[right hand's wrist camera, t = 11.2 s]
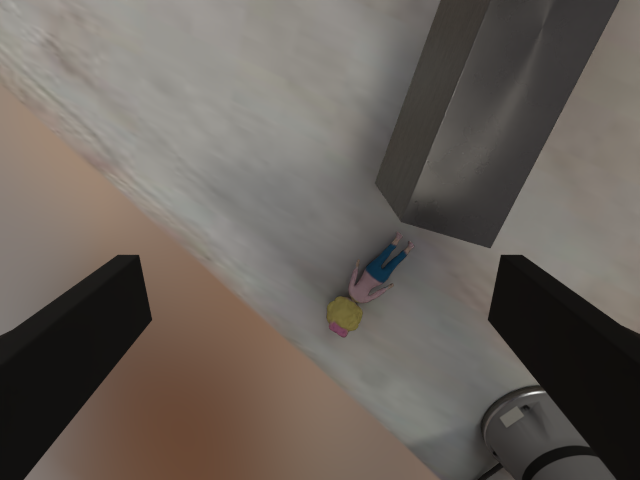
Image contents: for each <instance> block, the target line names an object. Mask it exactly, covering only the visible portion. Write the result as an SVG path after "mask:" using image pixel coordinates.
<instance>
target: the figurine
mask: <svg viewBox="0 0 640 480" xmlns="http://www.w3.org/2000/svg"><path fill="white" fill-rule="evenodd" d="M402 237H403V236H402V235H401V234H400V233H399V232H397V233H396V238H395V240H394V241H393V242H392V243H391V244H390V245H389V246H388V247H387V248H386V249H385V250H384V251H383V252H382V253H381V254H380V255H379V256H378V257H377V258H376V259H375V260H374V261H372V262H371V263H370V264H369V265H368V266H367V267H366V269H365V270H364V273H363V275H362V277H361V278H360V280H359V281H358V282H357V284H356V285H355V281H356V278H357V274H358V267H359V261H360V260H359V259H358V261H357V263H356V268H355V269H354V271H353V274H352V277H351V280H350V283H349V287H348V291H349V295H350V297H351V298H352V299H351V298H350V297H342V296H340V297H337V298H335V301H332V302H330V303H329V305H328V306H327V321H328V322H329V328H330V330H332V331H334V332H335V333H337V334H338V335H340V336H341V337H346V336H347V334H348V332H349V331H353V330H356V329H357V328H358V324H359V323H360V321H361V318H362V314H363V312H362V310H361V308H360V307H359V306H357V304H356V302H358V303H366V302H369V301H371V300H373V299H375V298H377V297H379V296H380V295H381V294H383V293H384V292H385V291H386V290H387V289H389V288H391V287H393V286H394V284H393V283H392V284H390V285H388V286H387V287H385V288H382V289H380V290H378V291H376V292H375V293H373V294H371V295H368V293H369V292H370V290H371V289H372V288H373V287H376V286H378V285H381V284H383V283H384V282H385V281H386V280H387V279H388V278H389V276H390V274H391V273H392V271H393V270H394V269H395V268H396V266H397V265H398V264H399V263H400V262H401V261H402V260H403V259H404V258H405V257H406V256H407V254H408V253H409V252H410V250H411V249H412V248H413V247H414V244H413V243H412V242H411V241H409V242H408V244H409V245H408V247H407V248H406V249H405V250H403V251H402V252H401V253H400V254H399V255H398V256H396V257H395V258H393V259H392V260H391V261H390V262H389V263H388V264H387V265H386V266H385V267H384V268H383V269H382V268H381V265H382V264H383V263H384V261H385V260H386V259H387V258H388V256H389V255H390V253H391V252H392V251H393V250H394V249H395V248H396V246H397V244H398V242H399V240H400V239H401V238H402ZM354 285H355V286H354Z"/></svg>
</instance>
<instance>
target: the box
mask: <svg viewBox="0 0 640 480" xmlns="http://www.w3.org/2000/svg"><path fill="white" fill-rule="evenodd" d="M618 2H619V0H441V1H440V4H439V6H438V9H437V12H436V15H435V17H434V20H433V23H432V26H431V29H430V31H429V34H428V37H427V40H426V42H425V45H424V48H423V51H422V54H421V56H420V59H419V62H418V65H417V67H416V70H415V73H414V76H413V78H412V81H411V84H410V87H409V90H408V92H407V95H406V98H405V101H404V103H403V106H402V109H401V112H400V115H399V117H398V120H397V123H396V126H395V128H394V131H393V134H392V137H391V139H390V142H389V145H388V148H387V151H386V153H385V156H384V159H383V162H382V164H381V167H380V170H379V173H378V176H377V178H376V181H375V184H376V186H377V187H378V189H379V190H380V192H381V193H382V195H383V196H384V197H385V199H386V200H387V202H388V203H389V205H390V206H391V208H392V209H393V211H394V212H395V214H396V215H397V217H398V218H399V219H400V221H401V222H403V223H407V224H410V225H413V226H417V227H420V228H423V229H427V230H430V231H434V232H437V233H440V234H444V235H447V236H450V237H454V238H457V239H460V240H464V241H467V242H471V243H474V244H477V245H481V246H484V247H487V248H491V246H492V244H493V242H494V240H495V239H496V237H497V235H498V233H499V231H500V229H501V227H502V225H503V223H504V221H505V219H506V217H507V215H508V214H509V212H510V210H511V208H512V206H513V204H514V202H515V200H516V198H517V196H518V194H519V192H520V190H521V188H522V187H523V185H524V183H525V181H526V179H527V177H528V175H529V173H530V171H531V169H532V167H533V165H534V163H535V162H536V160H537V158H538V156H539V154H540V152H541V150H542V148H543V146H544V144H545V142H546V140H547V138H548V136H549V135H550V133H551V131H552V129H553V127H554V125H555V123H556V121H557V119H558V117H559V115H560V113H561V111H562V110H563V108H564V106H565V104H566V102H567V100H568V98H569V96H570V94H571V92H572V90H573V88H574V86H575V84H576V83H577V81H578V79H579V77H580V75H581V73H582V71H583V69H584V67H585V65H586V63H587V61H588V59H589V58H590V56H591V54H592V52H593V50H594V48H595V46H596V44H597V42H598V40H599V38H600V36H601V34H602V32H603V31H604V29H605V27H606V25H607V23H608V21H609V19H610V17H611V15H612V13H613V11H614V9H615V7H616V6H617V4H618Z"/></svg>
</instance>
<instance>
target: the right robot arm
mask: <svg viewBox="0 0 640 480" xmlns="http://www.w3.org/2000/svg"><path fill="white" fill-rule="evenodd" d="M151 321H152V317H151V312H150V307H149V302H148V297H147V292H146V287H145V282H144V277H143V272H142V267H141V263H140V257H139V255H117V256H116V257H114V258H113V259H111V260H110V261H109V262H107V263H106V264H104V265H103V266H102V267H100V268H99V269H97V270H96V271H95V272H93V273H92V274H90V275H89V276H88V277H86V278H85V279H83V280H82V281H81V282H79V283H78V284H76V285H75V286H73V287H72V288H71V289H69V290H68V291H66V292H65V293H64V294H62V295H61V296H59V297H58V298H57V299H55V300H54V301H52V302H51V303H50V304H48V305H47V306H45V307H44V308H43V309H41V310H40V311H38V312H37V313H36V314H34V315H33V316H31V317H30V318H29V319H27V320H26V321H24V322H23V323H21V324H20V325H19V326H17V327H16V328H14V329H13V330H11V331H9V332H7V333H5V334H3V335H1V336H0V480H24V479H25V477H26V476H27V475H28V474H29V472H30V471H31V470H32V469H33V467H34V466H35V465H36V464H37V462H38V461H39V460H40V459H41V457H42V456H43V455H44V454H45V452H46V451H47V450H48V449H49V447H50V446H51V445H52V444H53V442H54V441H55V440H56V439H57V437H58V436H59V435H60V434H61V433H62V431H63V430H64V429H65V428H66V426H67V425H68V424H69V423H70V421H71V420H72V419H73V418H74V416H75V415H76V414H77V413H78V411H79V410H80V409H81V408H82V406H83V405H84V404H85V403H86V401H87V400H88V399H89V398H90V396H91V395H92V394H93V393H94V391H95V390H96V389H97V388H98V387H99V385H100V384H101V383H102V382H103V380H104V379H105V378H106V377H107V375H108V374H109V373H110V372H111V370H112V369H113V368H114V367H115V365H116V364H117V363H118V362H119V360H120V359H121V358H122V357H123V355H124V354H125V353H126V352H127V350H128V349H129V348H130V347H131V345H132V344H133V343H134V342H135V341H136V339H137V338H138V337H139V335H140V334H141V333H142V332H143V331H144V329H145V328H146V327H147V326H148V324H149V323H150V322H151ZM488 321H489V322H490V323H491V324H492V326H493V327H494V328H495V329H496V331H497V332H498V333H499V334H500V336H501V337H502V338H503V339H504V341H505V342H506V343H507V344H508V345H509V347H510V348H511V349H512V350H513V352H514V353H515V354H516V355H517V357H518V358H519V359H520V360H521V362H522V363H523V364H524V365H525V367H526V368H527V369H528V370H529V372H530V373H531V374H532V375H533V377H534V378H535V379H536V380H537V382H538V383H539V384H540V385H541V386H533V387H527V388H522V389H519V390H516V391H513V392H511V393H509V394H507V395H505V396H504V397H502V398H500V399H499V400H498V401H497V402H495V403H494V404H493V405H492V406H491V407H490V409H489V410H488V411H487V413H486V414H485V416H484V418H483V421H482V426H481V433H482V437H483V439H484V441H485V443H486V445H487V447H488V449H489V451H490V452H491V453H492V455H493V456H494V457H495V458H496V459H497V460H498V461H499V462H500V463H498V464H497V465H496V466H495V467H493V468H492V469H491V470H489V471H488V472H486V473H485V474H483V475H482V476H481V477H480V478H479V479H478V480H486V479H487V478H488V477H490V476H492V475H493V474H494V473H496V472H497V471H498V470H500V469H501V468H502V467H504V468H505V469H506V470H507V471H508V472H509V473H510V474H511V475H512V476H513V478H514V479H515V480H640V334H638V333H636V332H634V331H632V330H630V329H628V328H626V327H624V326H621V325H620V324H619V323H617V322H616V321H614V320H613V319H611V318H610V317H609V316H607V315H606V314H604V313H603V312H602V311H600V310H599V309H597V308H596V307H595V306H593V305H592V304H590V303H589V302H588V301H586V300H585V299H583V298H582V297H581V296H579V295H578V294H576V293H575V292H574V291H572V290H571V289H569V288H568V287H567V286H565V285H564V284H562V283H561V282H559V281H558V280H557V279H555V278H554V277H552V276H551V275H550V274H548V273H547V272H545V271H544V270H543V269H541V268H540V267H538V266H537V265H536V264H534V263H533V262H531V261H530V260H529V259H527V258H526V257H524V256H523V255H501V257H500V262H499V267H498V272H497V277H496V282H495V287H494V292H493V297H492V302H491V307H490V312H489V317H488Z"/></svg>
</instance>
